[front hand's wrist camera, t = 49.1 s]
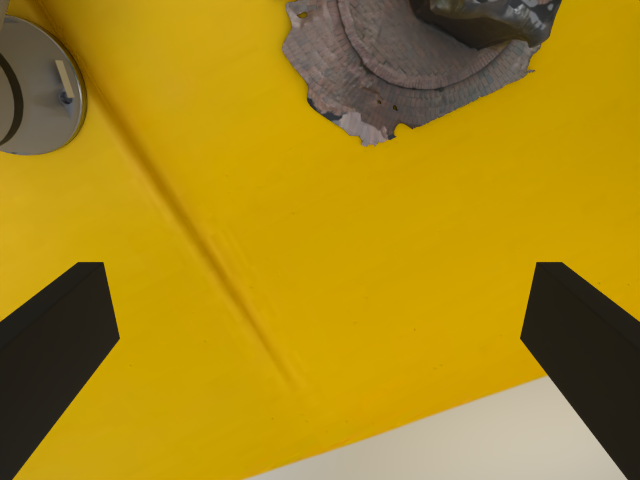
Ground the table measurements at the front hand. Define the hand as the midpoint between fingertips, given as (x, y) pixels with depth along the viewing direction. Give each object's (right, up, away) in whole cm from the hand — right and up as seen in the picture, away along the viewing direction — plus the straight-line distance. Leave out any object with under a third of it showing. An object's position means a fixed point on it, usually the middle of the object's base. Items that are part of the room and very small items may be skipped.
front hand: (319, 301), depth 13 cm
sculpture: (+12, +30, +32) cm, 45 cm away
